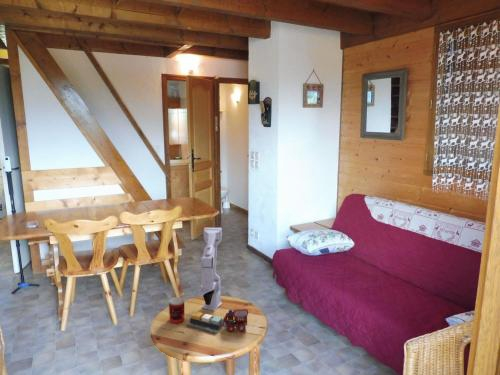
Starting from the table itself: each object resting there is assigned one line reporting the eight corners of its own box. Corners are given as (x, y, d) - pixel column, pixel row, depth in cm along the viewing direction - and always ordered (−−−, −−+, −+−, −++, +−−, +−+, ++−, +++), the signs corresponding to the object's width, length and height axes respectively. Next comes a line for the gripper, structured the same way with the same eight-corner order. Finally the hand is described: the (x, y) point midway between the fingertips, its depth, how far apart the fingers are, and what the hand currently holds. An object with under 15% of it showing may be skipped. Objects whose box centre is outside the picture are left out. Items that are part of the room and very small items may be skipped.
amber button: (196, 315, 197) (196, 311, 197) (203, 316, 195) (203, 313, 195) (192, 318, 193) (192, 315, 193) (198, 320, 192) (198, 316, 192)
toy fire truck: (222, 325, 192) (222, 306, 190) (247, 324, 193) (247, 305, 191) (223, 333, 185) (223, 313, 183) (248, 331, 186) (248, 312, 185)
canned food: (180, 314, 202) (179, 295, 200) (187, 321, 196) (187, 301, 194) (166, 319, 197) (166, 299, 195) (174, 325, 191) (173, 305, 189)
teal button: (215, 319, 193) (215, 316, 192) (222, 321, 191) (222, 317, 191) (211, 323, 189) (211, 319, 189) (218, 325, 188) (218, 321, 187)
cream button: (205, 317, 195) (205, 313, 195) (212, 319, 193) (212, 315, 193) (201, 321, 191) (201, 317, 191) (208, 322, 190) (208, 319, 189)
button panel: (198, 315, 201) (198, 310, 201) (227, 322, 195) (227, 317, 194) (186, 326, 191) (186, 321, 190) (216, 334, 184) (216, 329, 183)
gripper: (208, 272, 200) (208, 296, 202) (193, 283, 187) (193, 308, 189) (219, 274, 197) (219, 299, 199) (205, 286, 184) (206, 311, 186)
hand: (207, 304), depth 194 cm, fingers closed
